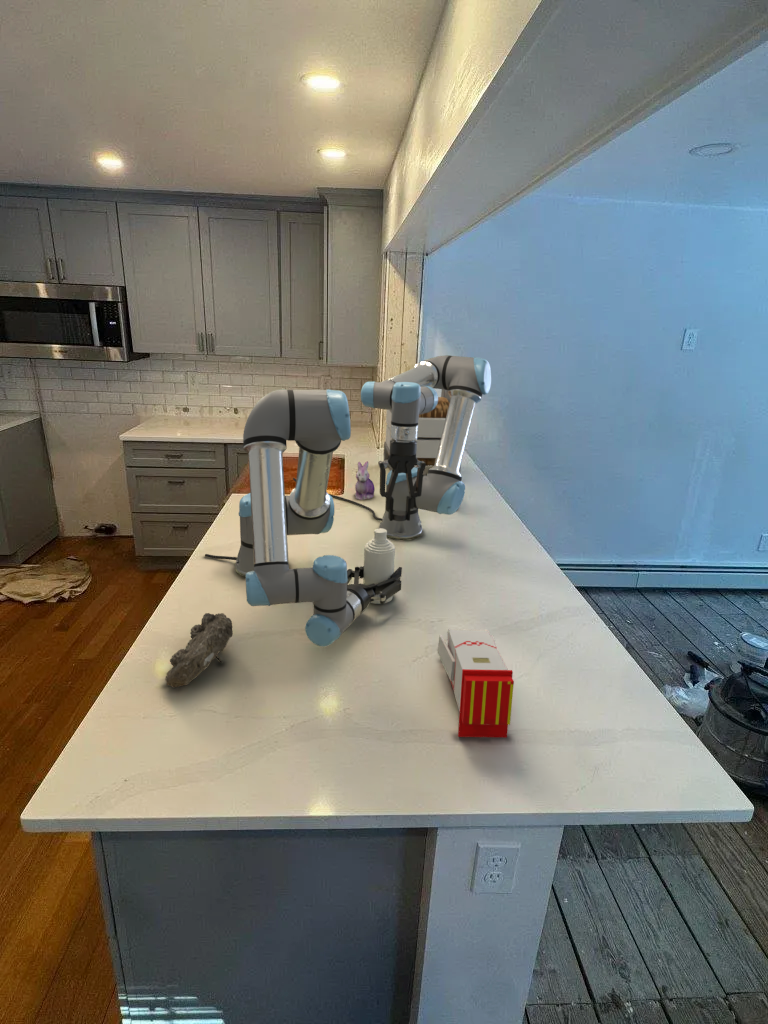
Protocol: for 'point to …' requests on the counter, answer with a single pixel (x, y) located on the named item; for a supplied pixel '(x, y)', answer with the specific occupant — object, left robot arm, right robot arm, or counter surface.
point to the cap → (399, 515)
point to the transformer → (425, 431)
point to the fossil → (200, 649)
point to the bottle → (378, 560)
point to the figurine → (363, 483)
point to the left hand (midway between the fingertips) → (385, 568)
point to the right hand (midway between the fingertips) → (398, 518)
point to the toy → (478, 682)
